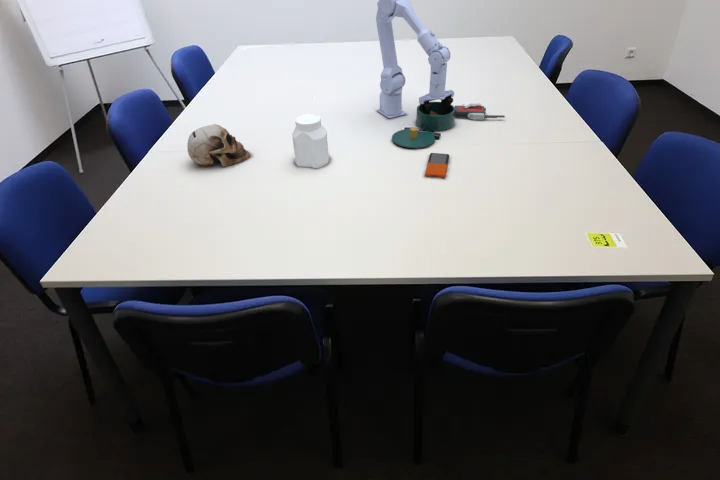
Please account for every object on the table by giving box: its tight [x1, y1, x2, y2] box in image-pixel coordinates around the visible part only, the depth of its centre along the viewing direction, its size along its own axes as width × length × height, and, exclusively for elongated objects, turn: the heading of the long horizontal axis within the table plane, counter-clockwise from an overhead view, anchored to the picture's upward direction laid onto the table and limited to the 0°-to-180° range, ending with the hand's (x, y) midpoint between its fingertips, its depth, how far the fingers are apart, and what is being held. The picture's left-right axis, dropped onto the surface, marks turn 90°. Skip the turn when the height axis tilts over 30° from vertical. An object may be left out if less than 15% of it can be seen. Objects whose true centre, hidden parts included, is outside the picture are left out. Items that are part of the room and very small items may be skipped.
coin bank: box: [186, 123, 251, 168], centre depth 160 cm, size 16×17×13 cm
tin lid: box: [391, 127, 436, 149], centre depth 170 cm, size 15×15×4 cm
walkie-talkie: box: [454, 102, 506, 121], centre depth 185 cm, size 9×4×20 cm
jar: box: [291, 113, 330, 169], centre depth 156 cm, size 12×10×15 cm
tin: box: [415, 101, 456, 132], centre depth 180 cm, size 14×14×6 cm
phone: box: [424, 152, 450, 179], centre depth 154 cm, size 6×1×15 cm
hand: (435, 117), depth 181 cm, fingers open, 7 cm apart
